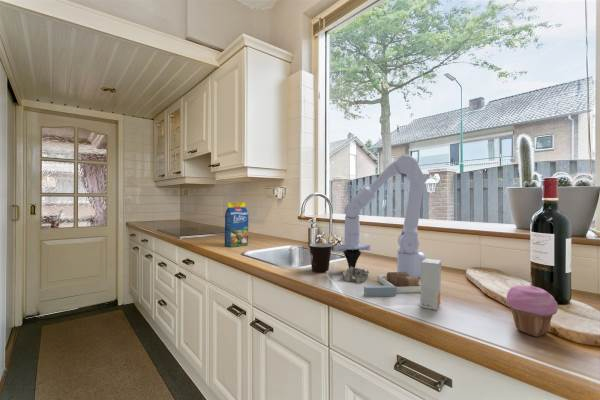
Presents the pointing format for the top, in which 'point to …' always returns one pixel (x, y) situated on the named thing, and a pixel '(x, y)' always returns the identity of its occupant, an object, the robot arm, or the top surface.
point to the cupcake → (531, 309)
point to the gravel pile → (355, 274)
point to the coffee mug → (320, 257)
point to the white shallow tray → (399, 289)
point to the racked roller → (392, 276)
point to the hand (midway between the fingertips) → (351, 269)
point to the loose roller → (406, 281)
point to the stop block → (379, 291)
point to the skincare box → (430, 283)
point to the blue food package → (236, 225)
